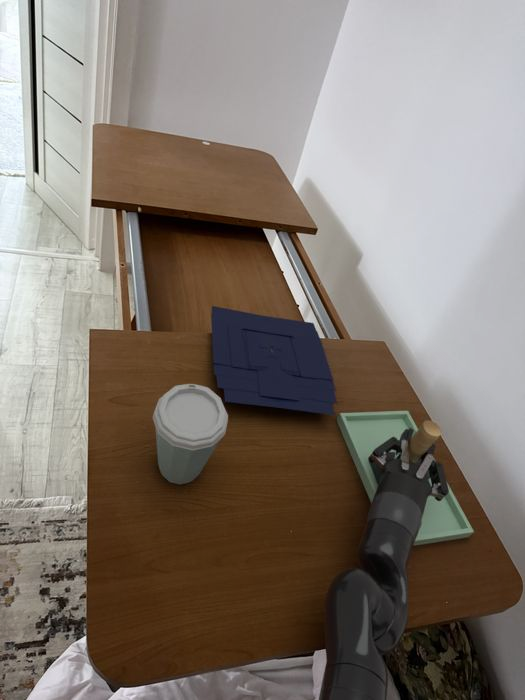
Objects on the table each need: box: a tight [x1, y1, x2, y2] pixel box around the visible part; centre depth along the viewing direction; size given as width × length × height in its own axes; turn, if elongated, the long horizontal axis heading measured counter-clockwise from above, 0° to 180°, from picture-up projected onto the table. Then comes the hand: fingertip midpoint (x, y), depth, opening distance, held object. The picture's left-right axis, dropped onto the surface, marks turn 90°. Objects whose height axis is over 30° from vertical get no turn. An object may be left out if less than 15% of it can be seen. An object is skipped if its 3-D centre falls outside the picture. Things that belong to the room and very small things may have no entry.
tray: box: [335, 410, 475, 547], centre depth 91 cm, size 26×16×2 cm, turn 15°
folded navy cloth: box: [210, 305, 338, 416], centre depth 102 cm, size 24×30×4 cm
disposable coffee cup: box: [152, 383, 229, 486], centre depth 75 cm, size 11×11×15 cm
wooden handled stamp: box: [369, 420, 442, 484], centre depth 87 cm, size 5×10×13 cm, turn 102°
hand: (419, 437), depth 89 cm, fingers closed on wooden handled stamp, 3 cm apart
